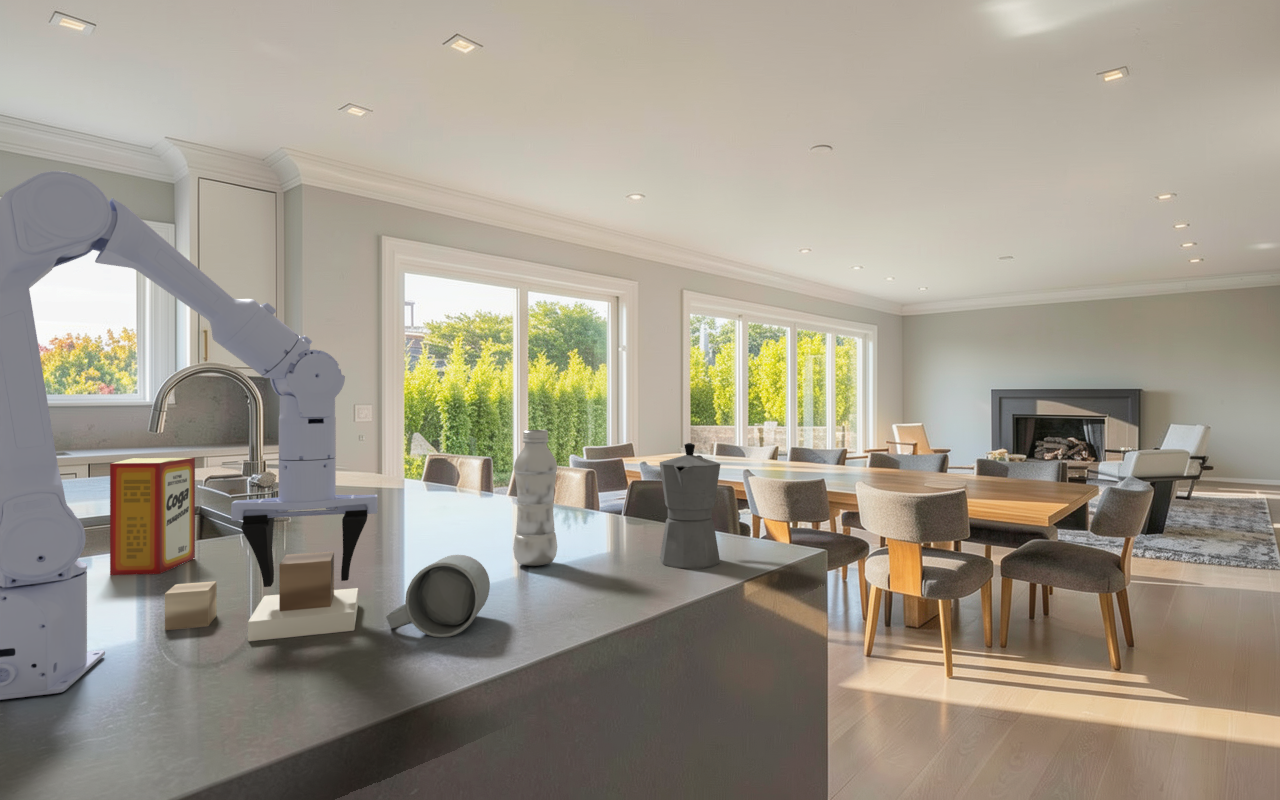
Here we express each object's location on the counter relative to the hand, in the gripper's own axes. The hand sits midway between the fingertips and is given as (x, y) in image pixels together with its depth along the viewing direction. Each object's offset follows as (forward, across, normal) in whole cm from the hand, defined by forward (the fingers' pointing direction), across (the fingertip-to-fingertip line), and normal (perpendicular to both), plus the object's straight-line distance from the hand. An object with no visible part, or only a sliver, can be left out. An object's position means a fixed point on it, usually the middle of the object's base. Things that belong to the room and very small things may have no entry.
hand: (307, 581), depth 78 cm
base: (+4, 0, 0) cm, 4 cm away
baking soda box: (+5, +24, -36) cm, 44 cm away
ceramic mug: (+5, -14, +6) cm, 16 cm away
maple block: (+4, +12, -4) cm, 13 cm away
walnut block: (+2, 0, 0) cm, 2 cm away
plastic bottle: (+5, -29, -18) cm, 34 cm away
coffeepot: (+5, -52, -13) cm, 54 cm away
